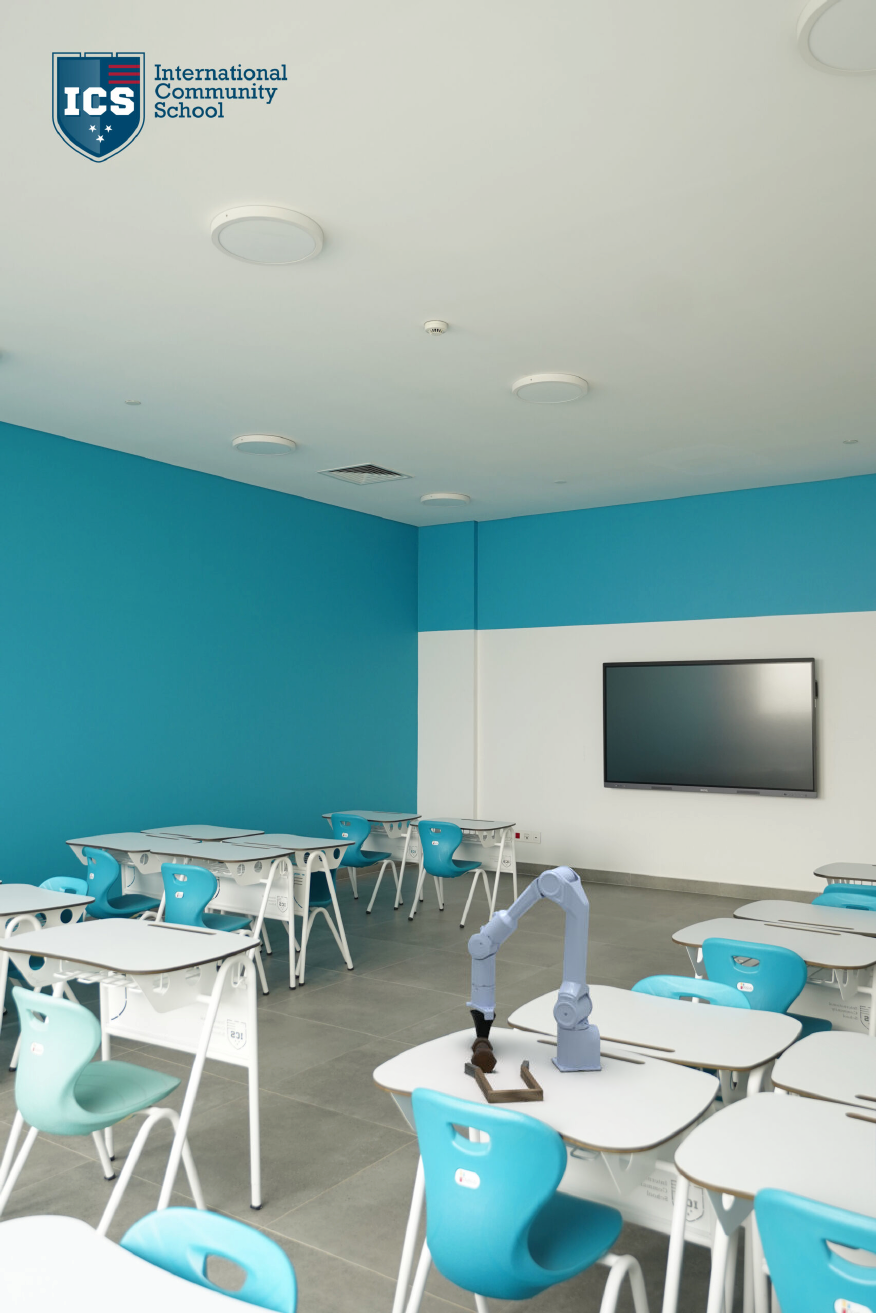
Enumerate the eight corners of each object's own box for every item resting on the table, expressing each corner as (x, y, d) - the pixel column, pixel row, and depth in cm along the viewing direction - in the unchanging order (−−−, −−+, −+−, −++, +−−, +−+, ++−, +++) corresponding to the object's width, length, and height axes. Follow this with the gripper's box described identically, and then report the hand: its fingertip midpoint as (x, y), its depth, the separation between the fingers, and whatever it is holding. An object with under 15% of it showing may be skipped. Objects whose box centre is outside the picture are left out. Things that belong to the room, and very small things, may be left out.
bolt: (484, 1059, 224) (487, 1080, 210) (465, 1047, 225) (467, 1067, 210) (496, 1037, 225) (500, 1056, 210) (478, 1025, 225) (480, 1044, 210)
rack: (528, 1069, 213) (528, 1059, 213) (550, 1100, 195) (551, 1089, 195) (464, 1071, 210) (464, 1062, 210) (480, 1103, 193) (481, 1093, 193)
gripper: (461, 976, 234) (460, 1032, 233) (472, 992, 220) (472, 1052, 219) (489, 975, 235) (488, 1031, 234) (502, 991, 221) (501, 1051, 220)
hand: (482, 1041), depth 226 cm, fingers closed
